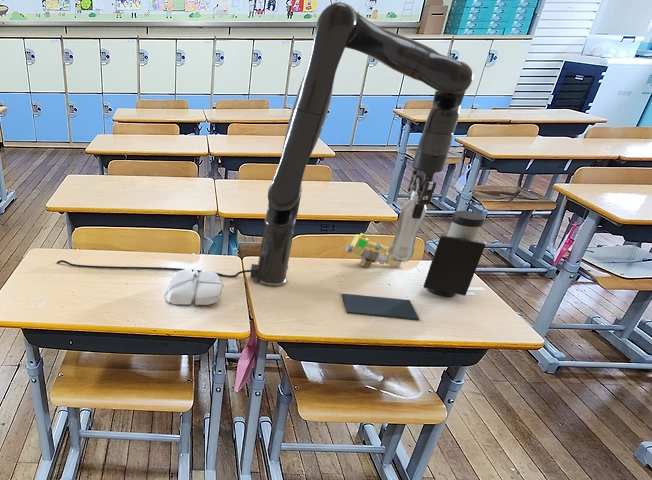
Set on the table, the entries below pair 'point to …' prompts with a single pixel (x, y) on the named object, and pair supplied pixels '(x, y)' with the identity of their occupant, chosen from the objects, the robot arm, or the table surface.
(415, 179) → the robot arm
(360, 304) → the mat
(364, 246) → the toy
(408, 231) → the plastic bottle
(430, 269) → the light fixture
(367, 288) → the table surface
